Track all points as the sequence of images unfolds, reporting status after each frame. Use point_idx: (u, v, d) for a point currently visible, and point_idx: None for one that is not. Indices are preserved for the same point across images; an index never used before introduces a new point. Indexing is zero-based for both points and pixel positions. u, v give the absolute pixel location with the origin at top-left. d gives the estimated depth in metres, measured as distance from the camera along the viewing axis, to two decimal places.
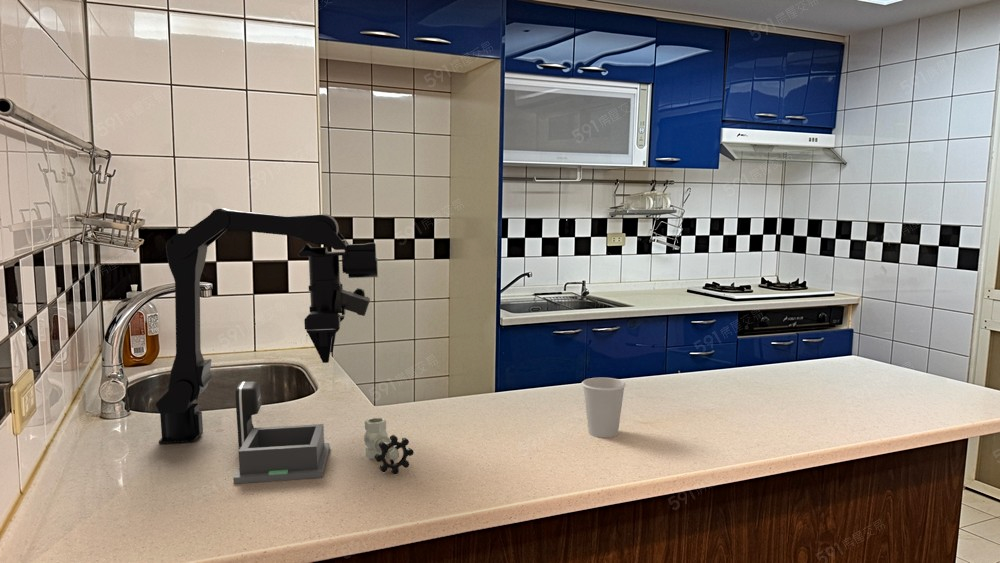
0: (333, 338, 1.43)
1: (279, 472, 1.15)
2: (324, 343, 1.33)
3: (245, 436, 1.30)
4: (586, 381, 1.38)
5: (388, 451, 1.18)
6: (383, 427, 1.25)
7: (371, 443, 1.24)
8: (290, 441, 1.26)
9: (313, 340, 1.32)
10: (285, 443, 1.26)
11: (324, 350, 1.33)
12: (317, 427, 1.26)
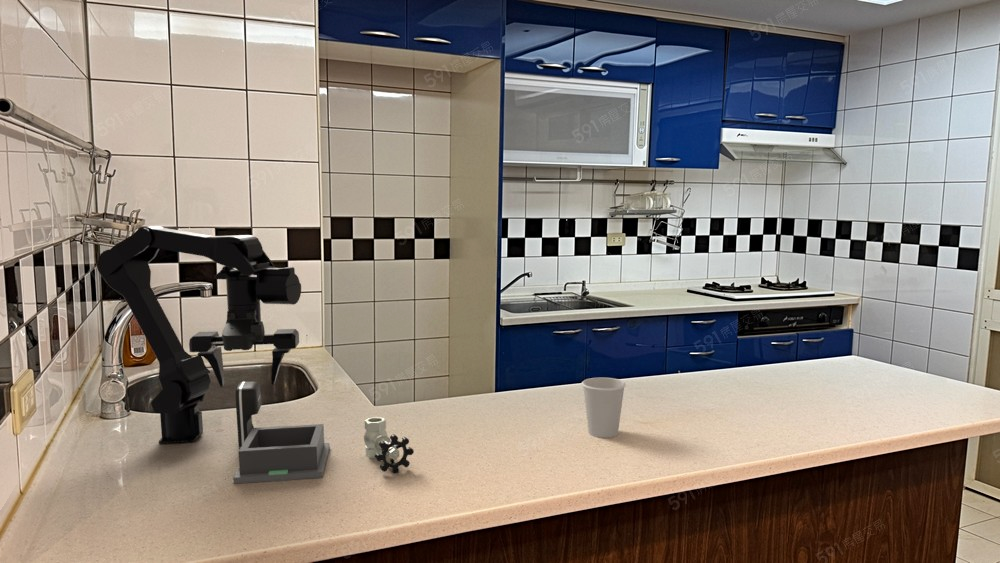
0: None
1: (279, 472, 1.15)
2: None
3: (245, 436, 1.30)
4: (586, 381, 1.38)
5: (388, 450, 1.18)
6: (383, 426, 1.25)
7: (371, 442, 1.24)
8: (290, 441, 1.26)
9: None
10: (285, 443, 1.26)
11: None
12: (317, 427, 1.26)
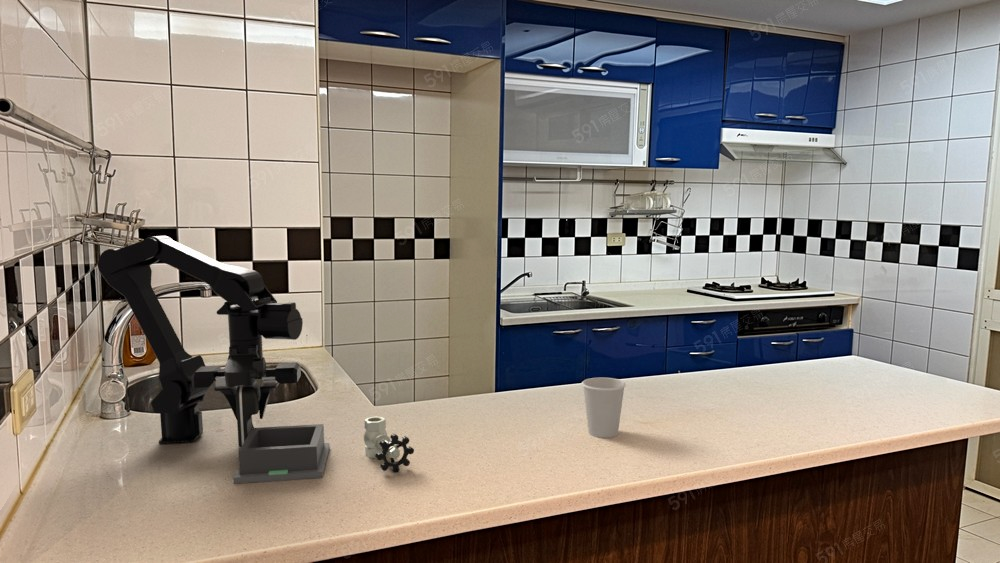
0: None
1: (279, 472, 1.15)
2: None
3: (245, 436, 1.30)
4: (586, 381, 1.38)
5: (389, 450, 1.18)
6: (383, 426, 1.25)
7: (371, 442, 1.24)
8: (290, 441, 1.26)
9: None
10: (285, 443, 1.26)
11: None
12: (317, 427, 1.26)
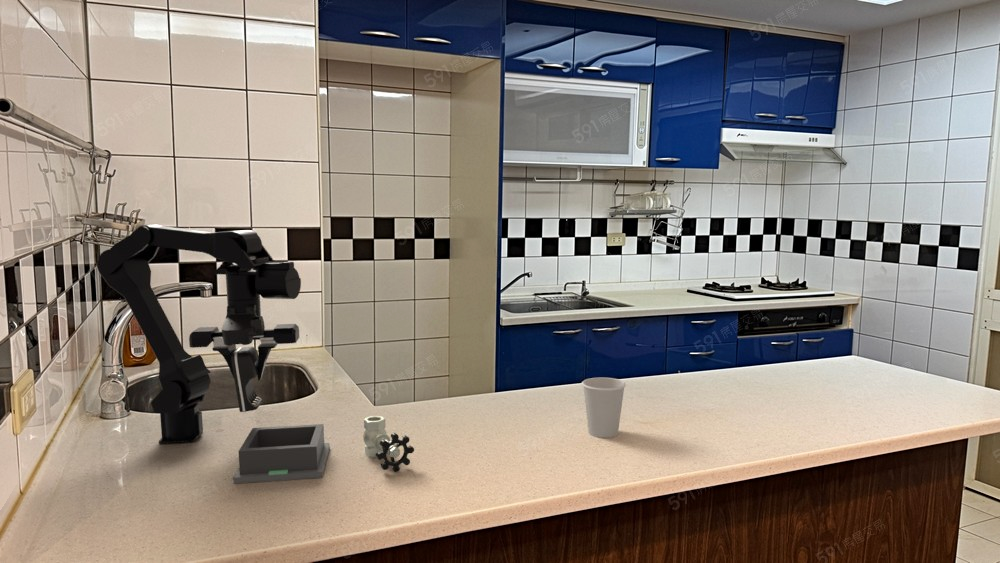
0: None
1: (279, 472, 1.15)
2: None
3: (245, 400, 1.29)
4: (586, 381, 1.38)
5: (389, 449, 1.19)
6: (382, 425, 1.26)
7: (371, 441, 1.25)
8: (290, 441, 1.26)
9: None
10: (285, 443, 1.26)
11: None
12: (317, 427, 1.26)
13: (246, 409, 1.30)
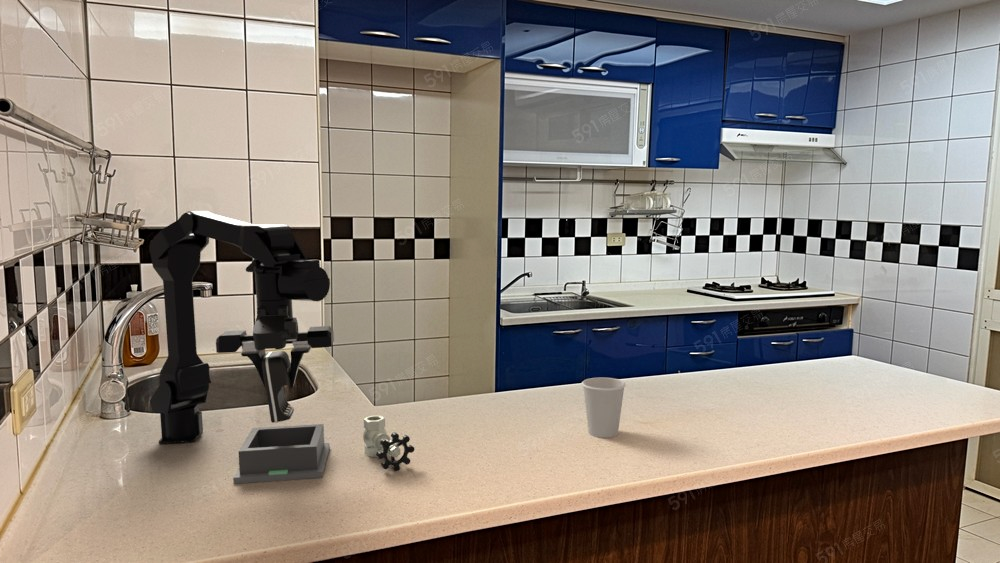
0: None
1: (279, 472, 1.15)
2: None
3: (277, 410, 1.19)
4: (586, 381, 1.38)
5: (389, 448, 1.19)
6: (382, 425, 1.26)
7: (370, 441, 1.25)
8: (290, 441, 1.26)
9: None
10: (285, 443, 1.26)
11: None
12: (317, 427, 1.26)
13: (278, 419, 1.19)
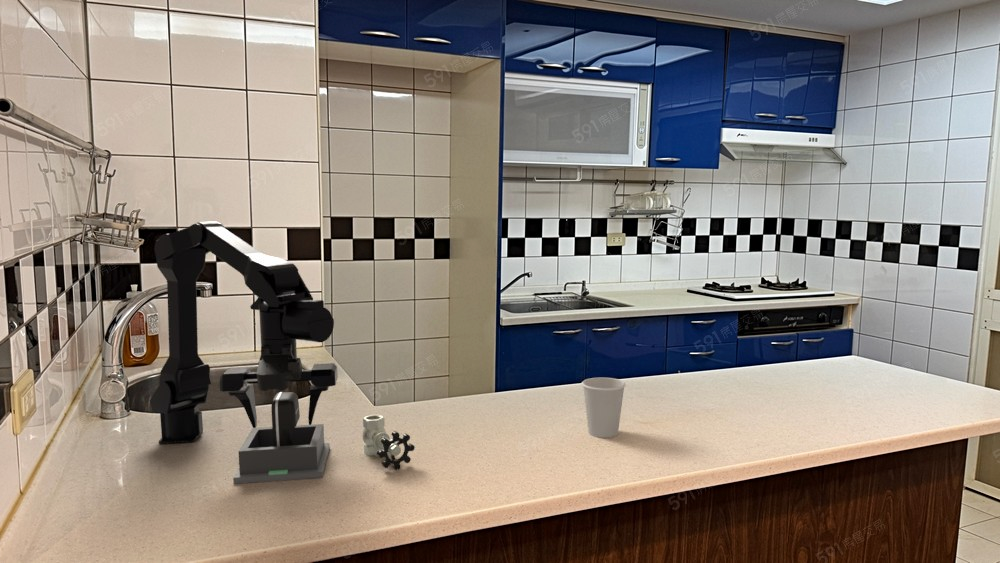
0: None
1: (279, 472, 1.15)
2: None
3: None
4: (586, 381, 1.38)
5: (390, 447, 1.20)
6: (382, 424, 1.27)
7: (370, 440, 1.25)
8: None
9: None
10: None
11: None
12: (317, 427, 1.26)
13: None
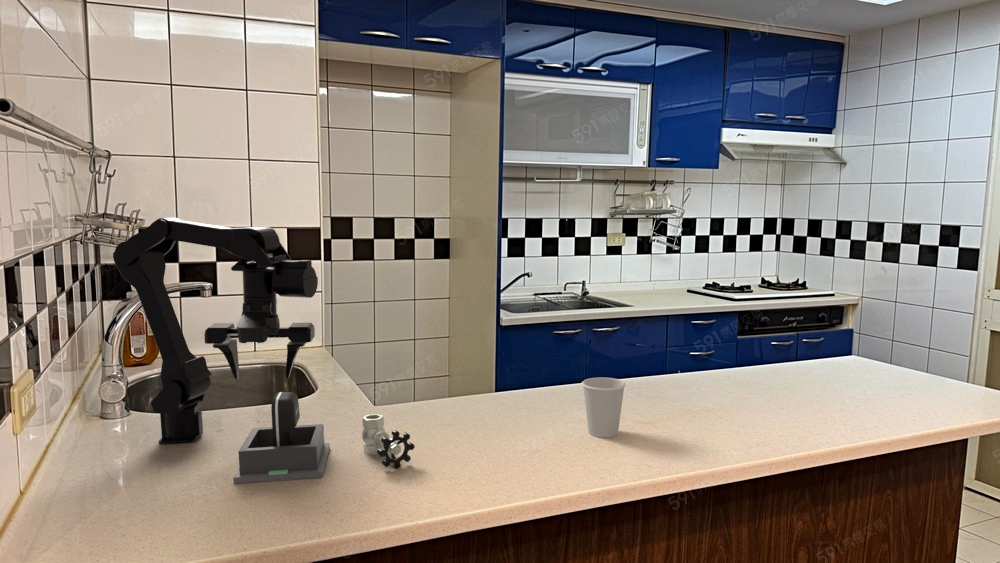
0: None
1: (279, 472, 1.15)
2: None
3: None
4: (586, 381, 1.38)
5: (390, 446, 1.20)
6: (381, 423, 1.27)
7: (370, 439, 1.26)
8: None
9: None
10: None
11: None
12: (317, 427, 1.26)
13: None
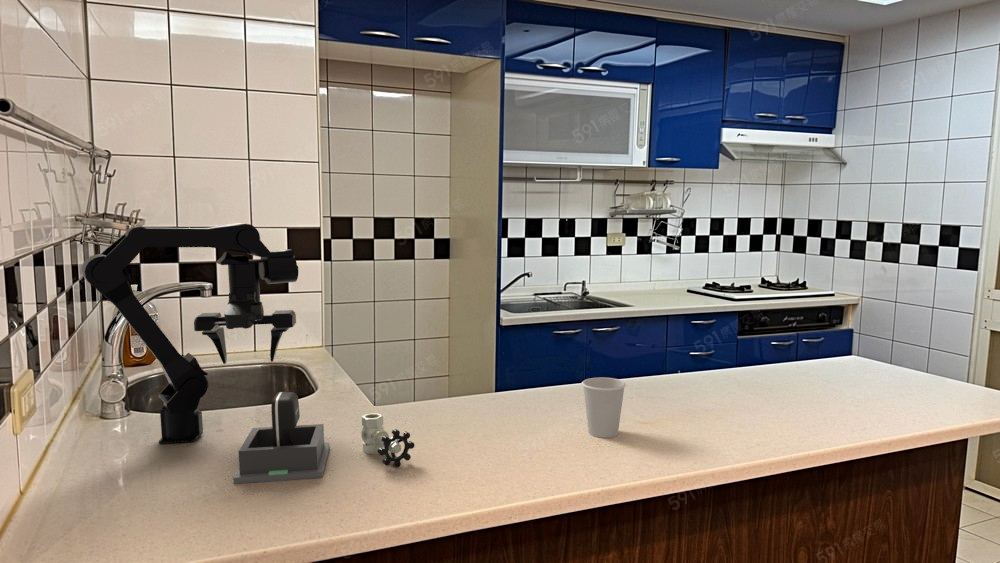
0: None
1: (279, 472, 1.15)
2: None
3: None
4: (586, 381, 1.38)
5: (390, 445, 1.21)
6: (380, 422, 1.27)
7: (369, 438, 1.26)
8: None
9: None
10: None
11: None
12: (317, 427, 1.26)
13: None
